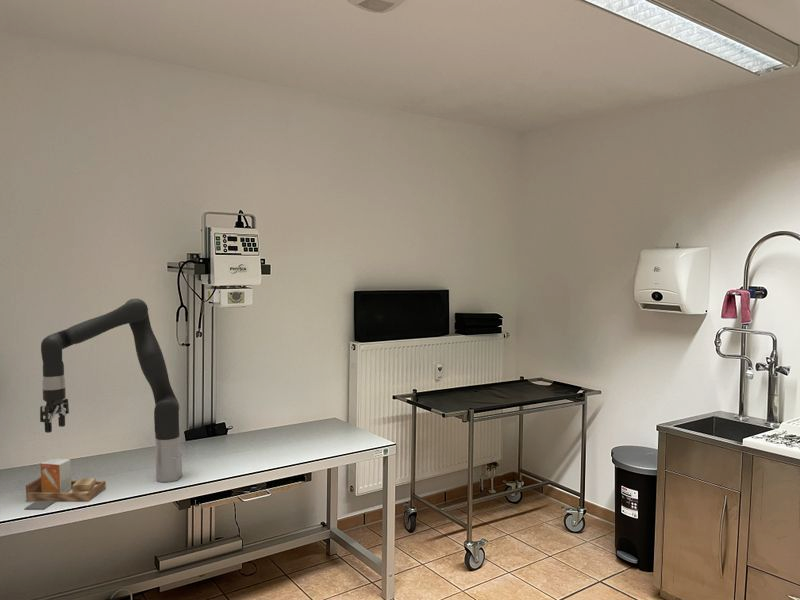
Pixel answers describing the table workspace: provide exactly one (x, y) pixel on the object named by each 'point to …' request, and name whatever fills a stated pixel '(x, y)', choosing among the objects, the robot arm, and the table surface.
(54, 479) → the small box
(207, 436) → the table surface
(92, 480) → the offcut top
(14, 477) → the table surface
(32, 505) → the mat
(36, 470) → the table surface
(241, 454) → the table surface
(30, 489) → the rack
